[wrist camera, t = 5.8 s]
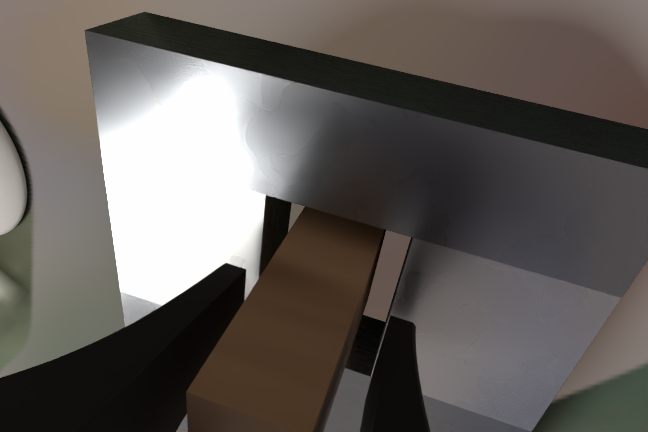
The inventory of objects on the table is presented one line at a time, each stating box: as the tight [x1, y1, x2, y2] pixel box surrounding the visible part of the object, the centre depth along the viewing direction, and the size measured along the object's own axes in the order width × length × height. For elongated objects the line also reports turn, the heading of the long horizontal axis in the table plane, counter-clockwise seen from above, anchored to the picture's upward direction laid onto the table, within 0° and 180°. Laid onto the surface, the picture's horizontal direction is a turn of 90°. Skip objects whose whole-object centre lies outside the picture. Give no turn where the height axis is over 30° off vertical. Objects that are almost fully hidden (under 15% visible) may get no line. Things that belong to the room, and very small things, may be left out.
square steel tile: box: [85, 12, 648, 432], centre depth 16 cm, size 16×14×2 cm
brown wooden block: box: [186, 206, 386, 432], centre depth 13 cm, size 4×2×8 cm, turn 172°
